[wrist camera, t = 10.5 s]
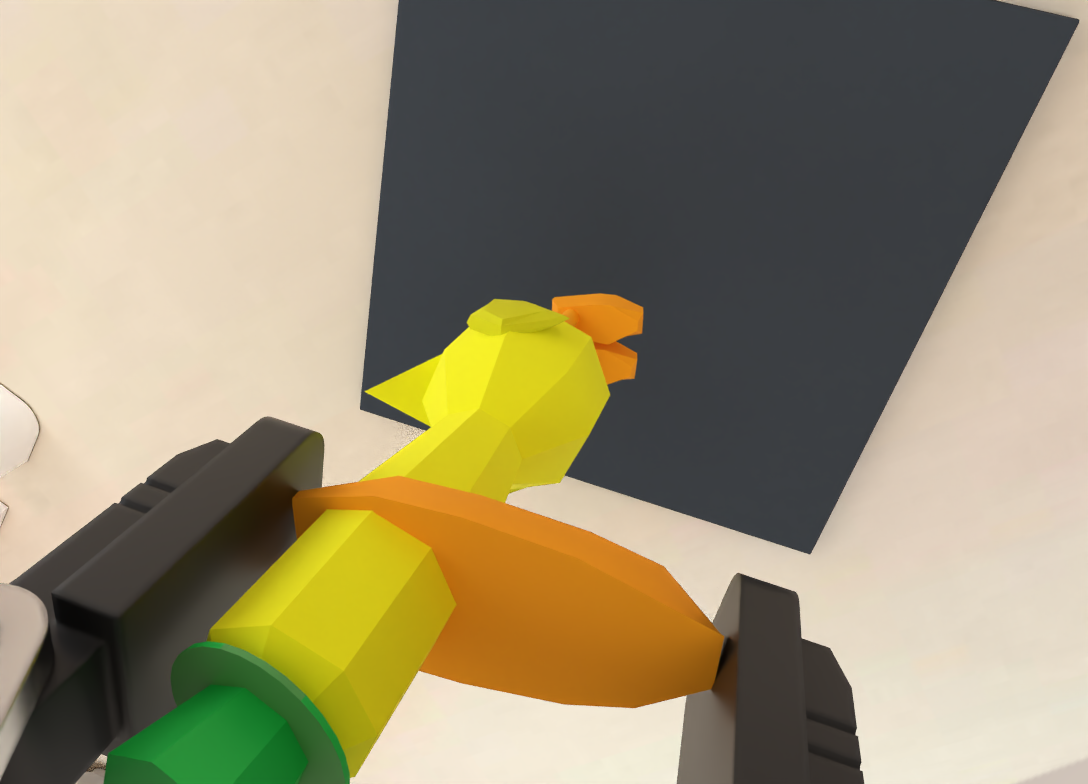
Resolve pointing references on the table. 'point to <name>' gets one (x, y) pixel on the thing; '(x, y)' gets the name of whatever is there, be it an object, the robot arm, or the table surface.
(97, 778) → the projector
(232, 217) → the table surface
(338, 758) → the toy figure
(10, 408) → the slotted white bracket
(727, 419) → the mat
